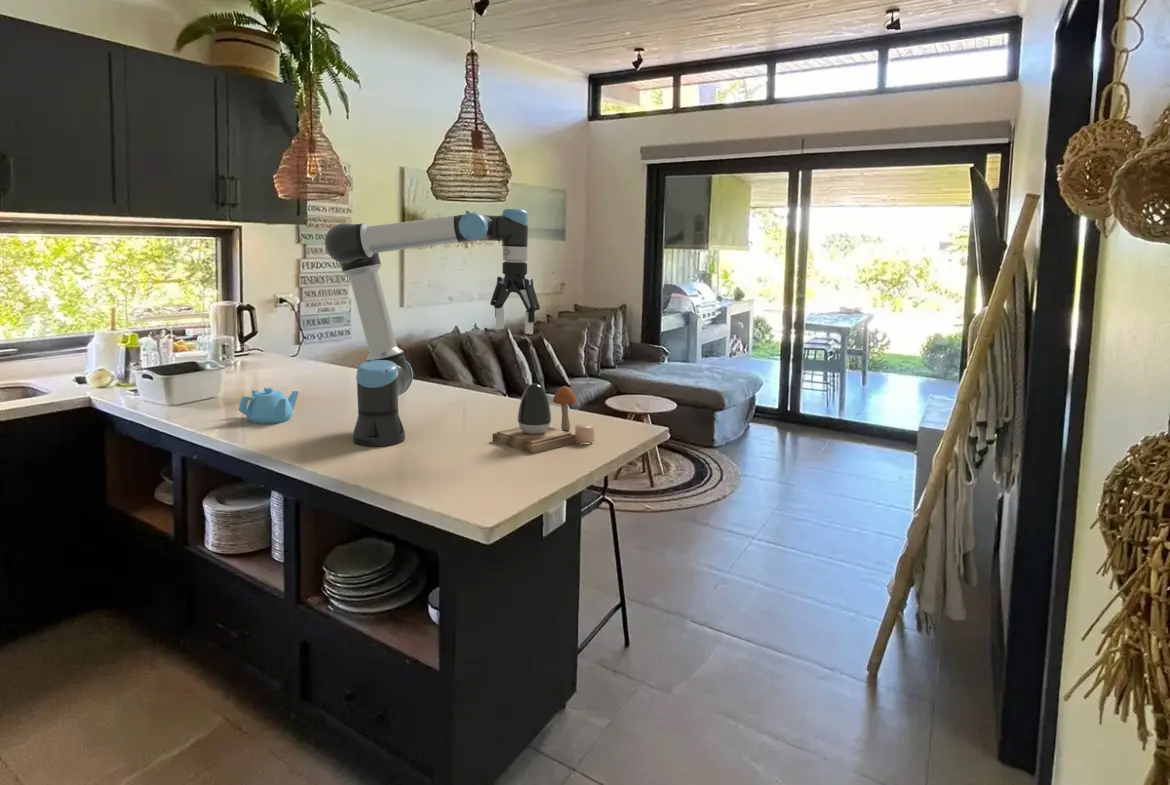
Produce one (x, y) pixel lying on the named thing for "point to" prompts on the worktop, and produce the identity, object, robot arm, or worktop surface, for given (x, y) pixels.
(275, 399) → the teapot
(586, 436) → the pink rounded glossy part
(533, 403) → the pump dispenser
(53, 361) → the worktop surface
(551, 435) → the walnut tray
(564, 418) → the mushroom
